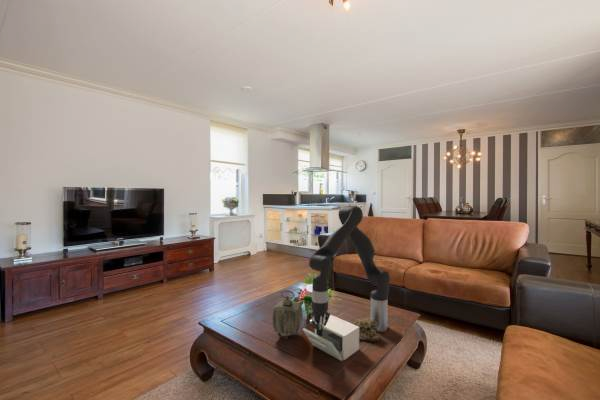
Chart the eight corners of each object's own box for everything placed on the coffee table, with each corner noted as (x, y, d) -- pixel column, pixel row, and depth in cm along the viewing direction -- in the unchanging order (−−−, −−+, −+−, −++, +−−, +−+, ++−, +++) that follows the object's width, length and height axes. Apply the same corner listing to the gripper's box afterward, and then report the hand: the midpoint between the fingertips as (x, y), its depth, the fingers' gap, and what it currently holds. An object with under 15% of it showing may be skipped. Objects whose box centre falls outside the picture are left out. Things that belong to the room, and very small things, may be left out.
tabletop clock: (302, 335, 147) (302, 289, 146) (298, 344, 138) (298, 295, 137) (276, 331, 151) (276, 286, 149) (271, 340, 142) (271, 292, 141)
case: (330, 336, 146) (330, 314, 145) (359, 351, 133) (359, 326, 132) (314, 345, 137) (314, 322, 137) (344, 362, 124) (344, 336, 124)
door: (314, 343, 137) (303, 327, 131) (342, 359, 124) (331, 342, 118) (312, 348, 135) (300, 332, 129) (340, 364, 123) (329, 347, 117)
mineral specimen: (350, 343, 139) (350, 324, 139) (349, 330, 152) (349, 313, 152) (380, 345, 138) (380, 326, 137) (375, 332, 150) (376, 314, 150)
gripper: (323, 293, 132) (322, 328, 133) (303, 300, 123) (303, 338, 124) (335, 297, 127) (335, 334, 128) (316, 305, 118) (315, 345, 119)
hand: (319, 336), depth 126 cm, fingers closed
